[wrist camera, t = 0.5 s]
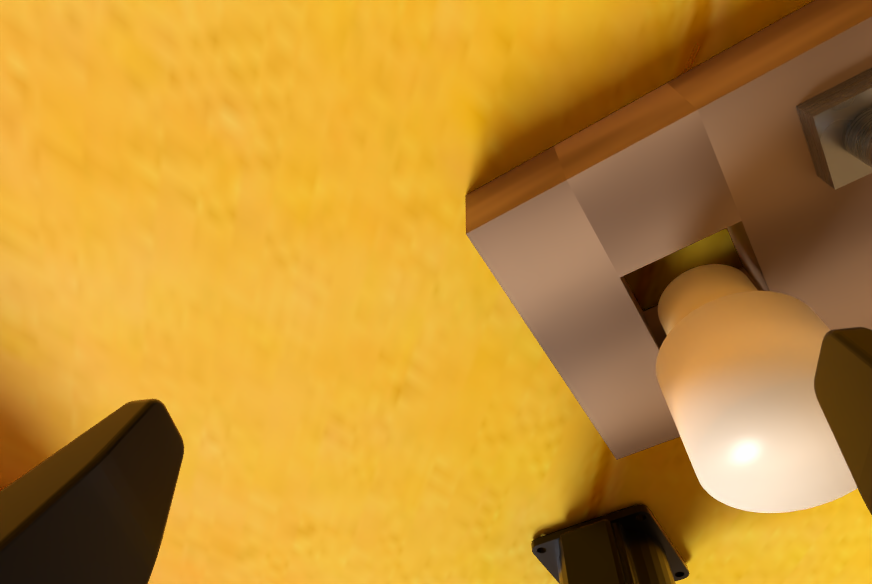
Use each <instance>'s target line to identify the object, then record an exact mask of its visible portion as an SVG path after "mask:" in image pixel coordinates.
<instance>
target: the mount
mask: <svg viewBox="0 0 872 584" xmlns="http://www.w3.org/2000/svg"><path fill="white" fill-rule="evenodd" d="M871 67H872V0H814V1H813V2H811V3H809V4H807V5H805V6H804V7H802V8H800V9H798V10H796V11H795V12H793V13H791V14H789V15H787V16H786V17H784V18H782V19H780V20H779V21H777V22H775V23H773V24H771V25H770V26H768V27H766V28H764V29H762V30H761V31H759V32H757V33H755V34H754V35H752V36H750V37H748V38H746V39H745V40H743V41H741V42H739V43H737V44H736V45H734V46H732V47H730V48H728V49H727V50H725V51H723V52H721V53H720V54H718V55H716V56H714V57H712V58H711V59H709V60H707V61H705V62H703V63H702V64H700V65H698V66H696V67H694V68H693V69H691V70H689V71H687V72H686V73H684V74H682V75H680V76H678V77H677V78H675V79H673V80H671V81H669V82H668V83H666V84H664V85H662V86H661V87H659V88H657V89H655V90H653V91H652V92H650V93H648V94H646V95H644V96H643V97H641V98H639V99H637V100H635V101H634V102H632V103H630V104H628V105H627V106H625V107H623V108H621V109H619V110H618V111H616V112H614V113H612V114H610V115H609V116H607V117H605V118H603V119H601V120H600V121H598V122H596V123H594V124H593V125H591V126H589V127H587V128H585V129H584V130H582V131H580V132H578V133H576V134H575V135H573V136H571V137H569V138H567V139H566V140H564V141H562V142H560V143H559V144H557V145H555V146H553V147H551V148H550V149H548V150H546V151H544V152H542V153H541V154H539V155H537V156H535V157H534V158H532V159H530V160H528V161H526V162H525V163H523V164H521V165H519V166H517V167H516V168H514V169H512V170H510V171H508V172H507V173H505V174H503V175H501V176H500V177H498V178H496V179H494V180H492V181H491V182H489V183H487V184H485V185H483V186H482V187H480V188H478V189H476V190H474V191H473V192H471V193H469V194H467V195H466V235H467V236H468V238H469V239H470V241H471V242H472V244H473V245H474V247H475V248H476V250H477V251H478V253H479V254H480V256H481V257H482V259H483V260H484V262H485V263H486V264H487V266H488V267H489V269H490V270H491V272H492V273H493V275H494V276H495V278H496V279H497V281H498V282H499V284H500V285H501V287H502V288H503V290H504V291H505V293H506V294H507V296H508V297H509V299H510V300H511V302H512V303H513V305H514V306H515V308H516V309H517V311H518V312H519V314H520V315H521V317H522V318H523V320H524V321H525V323H526V324H527V326H528V327H529V329H530V330H531V332H532V333H533V335H534V336H535V338H536V339H537V341H538V342H539V344H540V345H541V347H542V348H543V350H544V351H545V353H546V354H547V356H548V357H549V359H550V360H551V362H552V363H553V365H554V366H555V368H556V369H557V371H558V372H559V374H560V375H561V377H562V378H563V380H564V381H565V383H566V384H567V386H568V387H569V389H570V390H571V392H572V393H573V395H574V396H575V398H576V399H577V401H578V402H579V404H580V405H581V407H582V408H583V410H584V411H585V413H586V414H587V416H588V417H589V419H590V420H591V422H592V423H593V425H594V426H595V428H596V429H597V431H598V432H599V434H600V435H601V437H602V438H603V440H604V441H605V443H606V444H607V446H608V447H609V449H610V450H611V452H612V453H613V455H614V456H615V458H616V459H620V458H623V457H625V456H628V455H631V454H633V453H636V452H639V451H642V450H644V449H647V448H650V447H653V446H655V445H658V444H661V443H664V442H666V441H669V440H672V439H675V438H677V437H680V434H679V432H678V429H677V427H676V424H675V422H674V420H673V417H672V415H671V412H670V410H669V407H668V405H667V403H666V400H665V398H664V395H663V393H662V390H661V388H660V385H659V383H658V380H657V376H656V360H657V356H658V352H659V349H660V347H661V345H662V343H663V341H664V340H665V338H666V336H667V335H666V333H665V331H664V328H663V326H662V324H661V322H660V320H659V316H658V305H657V306H655V307H652V308H650V309H648V310H646V311H642V309H641V307H640V306H639V304H638V302H637V300H636V298H635V296H634V294H633V293H632V291H631V289H630V287H629V285H628V283H627V281H626V280H625V278H624V275H626V274H629V273H631V272H633V271H635V270H637V269H639V268H642V267H644V266H646V265H648V264H650V263H652V262H654V261H657V260H659V259H661V258H663V257H665V256H667V255H669V254H672V253H674V252H676V251H678V250H680V249H682V248H684V247H687V246H689V245H691V244H693V243H695V242H697V241H700V240H702V239H704V238H706V237H708V236H710V235H712V234H715V233H717V232H719V231H721V230H723V229H725V228H727V229H728V232H729V234H730V236H731V239H732V241H733V244H734V246H735V248H736V251H737V253H738V256H739V258H740V261H741V263H742V265H743V268H741V269H739V270H740V271H742V272H743V273H744V274H745V275H746V276H747V277H748V278H749V280H750V281H751V282H752V284H753V285H754V286H755V288H756V289H757V290H758V291H772V292H778V293H783V294H786V295H789V296H792V297H794V298H796V299H799V300H800V301H802V302H803V303H805V304H807V305H808V306H809V307H810V308H811V309H812V310H813V311H814V312H815V313H816V314H817V315H818V317H819V318H820V319H821V320H822V321H823V322H824V324H825V325H826V326H827V327H828V328H829V329H830V330H834V329H843V328H853V327H865V328H868V329H871V330H872V173H871V174H868V175H866V176H864V177H862V178H860V179H858V180H855V181H853V182H851V183H849V184H847V185H845V186H842V187H840V188H838V189H836V190H835V189H833V188H832V187H831V186H829V185H828V184H827V183H826V182H824V181H823V180H822V179H820V178H819V177H818V176H817V173H816V170H815V167H814V164H813V161H812V157H811V154H810V151H809V148H808V145H807V141H806V138H805V135H804V132H803V129H802V125H801V122H800V119H799V116H798V113H797V109H796V106H797V105H799V104H801V103H803V102H805V101H807V100H809V99H811V98H813V97H814V96H816V95H818V94H820V93H822V92H824V91H826V90H828V89H830V88H832V87H834V86H836V85H838V84H840V83H842V82H844V81H846V80H848V79H850V78H852V77H854V76H856V75H858V74H860V73H861V72H863V71H865V70H867V69H869V68H871Z"/></svg>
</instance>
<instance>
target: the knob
mask: <svg viewBox="0 0 872 584" xmlns="http://www.w3.org/2000/svg"><path fill="white" fill-rule="evenodd" d="M658 316H659V320H660V322H661V324H662V326H663V328H664V331H665V333H666V335H667V336H666V338H665V340H664V341H663V343H662V345H661V347H660V349H659V352H658V356H657V360H656V376H657V380H658V383H659V385H660V388H661V390H662V393H663V395H664V398H665V400H666V403H667V405H668V407H669V410H670V412H671V415H672V417H673V420H674V422H675V424H676V427H677V429H678V432H679V434H680V437H681V439H682V442H683V444H684V446H685V449H686V451H687V454H688V456H689V459H690V461H691V463H692V466H693V468H694V471H695V473H696V476H697V478H698V480H699V482H700V484H701V485H702V487H703V488H704V489H705V490H706V491H707V492H708V493H709V494H710V495H711V496H712V497H714V498H715V499H716V500H718V501H720V502H722V503H724V504H726V505H728V506H731V507H734V508H737V509H741V510H745V511H751V512H760V513H782V512H791V511H797V510H803V509H808V508H811V507H815V506H819V505H822V504H825V503H828V502H830V501H833V500H835V499H838V498H840V497H842V496H844V495H846V494H848V493H850V492H852V491H854V490H855V489H857V486H856V483H855V481H854V479H853V477H852V475H851V472H850V470H849V468H848V466H847V464H846V461H845V459H844V457H843V455H842V453H841V451H840V448H839V446H838V444H837V442H836V440H835V437H834V435H833V433H832V431H831V429H830V426H829V424H828V422H827V420H826V418H825V415H824V413H823V411H822V409H821V407H820V405H819V402H818V400H817V398H816V394H815V390H814V377H815V372H816V368H817V363H818V358H819V354H820V349H821V345H822V341H823V338H824V336H825V334H826V333H827V332H829V331H831V330H830V329H829V328H828V327H827V326H826V325H825V324H824V322H823V321H822V320H821V319H820V318H819V317H818V315H817V314H816V313H815V312H814V311H813V310H812V309H811V308H810V307H809V306H808V305H807V304H805V303H803V302H802V301H800V300H799V299H796V298H794V297H792V296H789V295H786V294H783V293H778V292H772V291H758V290H757V289H756V288H755V286H754V285H753V284H752V282H751V281H750V280H749V278H748V277H747V276H746V275H745V274H744V273H743V272H742V271H740V270H739V269H737V268H734V267H732V266H728V265H723V264H707V265H702V266H698V267H695V268H692V269H690V270H688V271H686V272H684V273H682V274H681V275H679V276H678V277H676V278H675V279H674V280H673V281H672V282H671V283H670V284H669V285H668V286H667V287H666V288H665V290H664V291H663V293H662V295H661V297H660V300H659V303H658Z"/></svg>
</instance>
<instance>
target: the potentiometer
mask: <svg viewBox="0 0 872 584" xmlns="http://www.w3.org/2000/svg"><path fill="white" fill-rule="evenodd" d="M796 109H797V113H798V116H799V119H800V122H801V125H802V129H803V132H804V135H805V138H806V141H807V145H808V148H809V151H810V154H811V157H812V161H813V164H814V167H815V170H816V173H817V176H818V177H819V178H820V179H822V180H823V181H824V182H826V183H827V184H828V185H829V186H831V187H832V188H833V189H835V190H836V189H838V188H840V187H842V186H845V185H847V184H849V183H851V182H853V181H855V180H858V179H860V178H862V177H864V176H866V175H868V174H871V173H872V67H871V68H869V69H867V70H865V71H863V72H861V73H860V74H858V75H856V76H854V77H852V78H850V79H848V80H846V81H844V82H842V83H840V84H838V85H836V86H834V87H832V88H830V89H828V90H826V91H824V92H822V93H820V94H818V95H816V96H814V97H813V98H811V99H809V100H807V101H805V102H803V103H801V104H799V105H797V106H796Z"/></svg>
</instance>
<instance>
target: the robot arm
mask: <svg viewBox="0 0 872 584" xmlns="http://www.w3.org/2000/svg"><path fill="white" fill-rule="evenodd" d="M814 390H815V394H816V398H817V400H818V402H819V405H820V407H821V409H822V411H823V413H824V415H825V418H826V420H827V422H828V424H829V426H830V429H831V431H832V433H833V435H834V437H835V440H836V442H837V444H838V446H839V448H840V451H841V453H842V455H843V457H844V459H845V461H846V464H847V466H848V468H849V470H850V472H851V475H852V477H853V479H854V481H855V483H856V486H857V488H858V490H859V492H860V494H861V496H862V498H863V500H864V502H865V504H866V506H867V508H868V509H869V511H870V513H871V515H872V330H871V329H868V328H865V327H853V328H843V329H834V330H831V331H829V332H827V333H826V334H825V336H824V338H823V341H822V345H821V349H820V354H819V358H818V363H817V368H816V372H815V377H814ZM183 454H184V444H183V440H182V437H181V435H180V433H179V431H178V429H177V428H176V426H175V424H174V422H173V420H172V418H171V416H170V414H169V413H168V411H167V409H166V407H165V405H164V404H163V403H162V402H161V401H159V400H157V399H146V400H137V401H131V402H128V403H126V404H125V405H123V406H122V407H120V408H119V409H118V410H116V411H115V412H113V413H112V414H110V415H109V416H108V417H106V418H105V419H103V420H102V421H100V422H99V423H98V424H96V425H95V426H93V427H92V428H90V429H89V430H88V431H86V432H85V433H83V434H82V435H80V436H79V437H78V438H76V439H75V440H73V441H72V442H70V443H69V444H68V445H66V446H65V447H63V448H62V449H60V450H59V451H57V452H56V453H55V454H53V455H52V456H50V457H49V458H47V459H46V460H45V461H43V462H42V463H40V464H39V465H37V466H36V467H35V468H33V469H32V470H30V471H29V472H27V473H26V474H25V475H23V476H22V477H20V478H19V479H17V480H16V481H15V482H13V483H12V484H10V485H9V486H7V487H6V488H4V489H3V490H2V491H0V584H148V581H149V578H150V576H151V573H152V570H153V567H154V564H155V561H156V558H157V555H158V552H159V548H160V545H161V541H162V538H163V534H164V530H165V526H166V522H167V518H168V514H169V510H170V506H171V503H172V499H173V495H174V491H175V487H176V483H177V479H178V475H179V471H180V467H181V463H182V459H183ZM531 545H532V552H533V554H534V555H535V556H536V557H537V558H538V559H539V560H540V562H541V563H542V564H543V565H544V566H545V567H546V569H547V570H548V571H549V572H550V573H551V574H552V575H553V577H554V578H555V579H556V580H557V581H558V582H559V583H560V584H675V581H678V580H681V579H684V578H686V577H688V575H689V571H688V568H687V565H686V564H685V562H684V561H683V559H682V558H681V556H680V555H679V553H678V552H677V550H676V549H675V547H674V546H673V544H672V543H671V541H670V540H669V538H668V537H667V535H666V534H665V532H664V531H663V529H662V528H661V526H660V525H659V523H658V522H657V520H656V519H655V517H654V516H653V514H652V513H651V511H650V510H649V508H648V507H647V506H645V505H635V506H632V507H629V508H626V509H623V510H620V511H617V512H614V513H611V514H608V515H605V516H602V517H599V518H596V519H593V520H590V521H587V522H584V523H581V524H578V525H575V526H572V527H569V528H566V529H563V530H560V531H557V532H554V533H551V534H548V535H545V536H543V537H540V538H537V539H535V540H533V541H532V544H531Z"/></svg>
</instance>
